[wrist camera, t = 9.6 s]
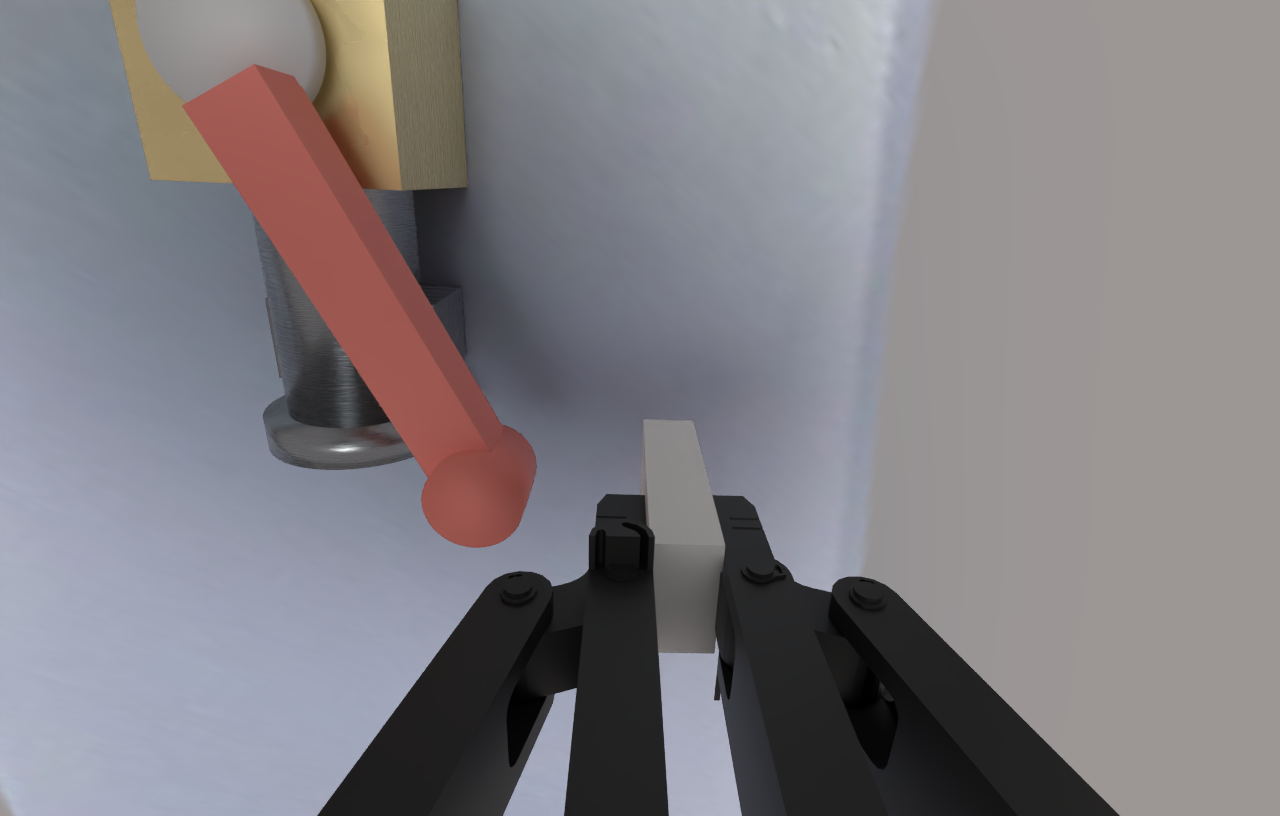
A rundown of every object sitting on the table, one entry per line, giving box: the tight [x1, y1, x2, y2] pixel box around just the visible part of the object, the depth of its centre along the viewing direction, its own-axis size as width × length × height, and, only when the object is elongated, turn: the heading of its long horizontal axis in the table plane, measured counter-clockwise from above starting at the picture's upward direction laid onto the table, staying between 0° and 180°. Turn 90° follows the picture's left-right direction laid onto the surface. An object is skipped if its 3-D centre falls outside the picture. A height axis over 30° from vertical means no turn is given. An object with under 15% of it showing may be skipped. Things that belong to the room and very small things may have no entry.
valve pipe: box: [109, 0, 468, 470], centre depth 19 cm, size 25×7×8 cm, turn 178°
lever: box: [136, 0, 537, 547], centre depth 16 cm, size 16×4×3 cm, turn 25°
